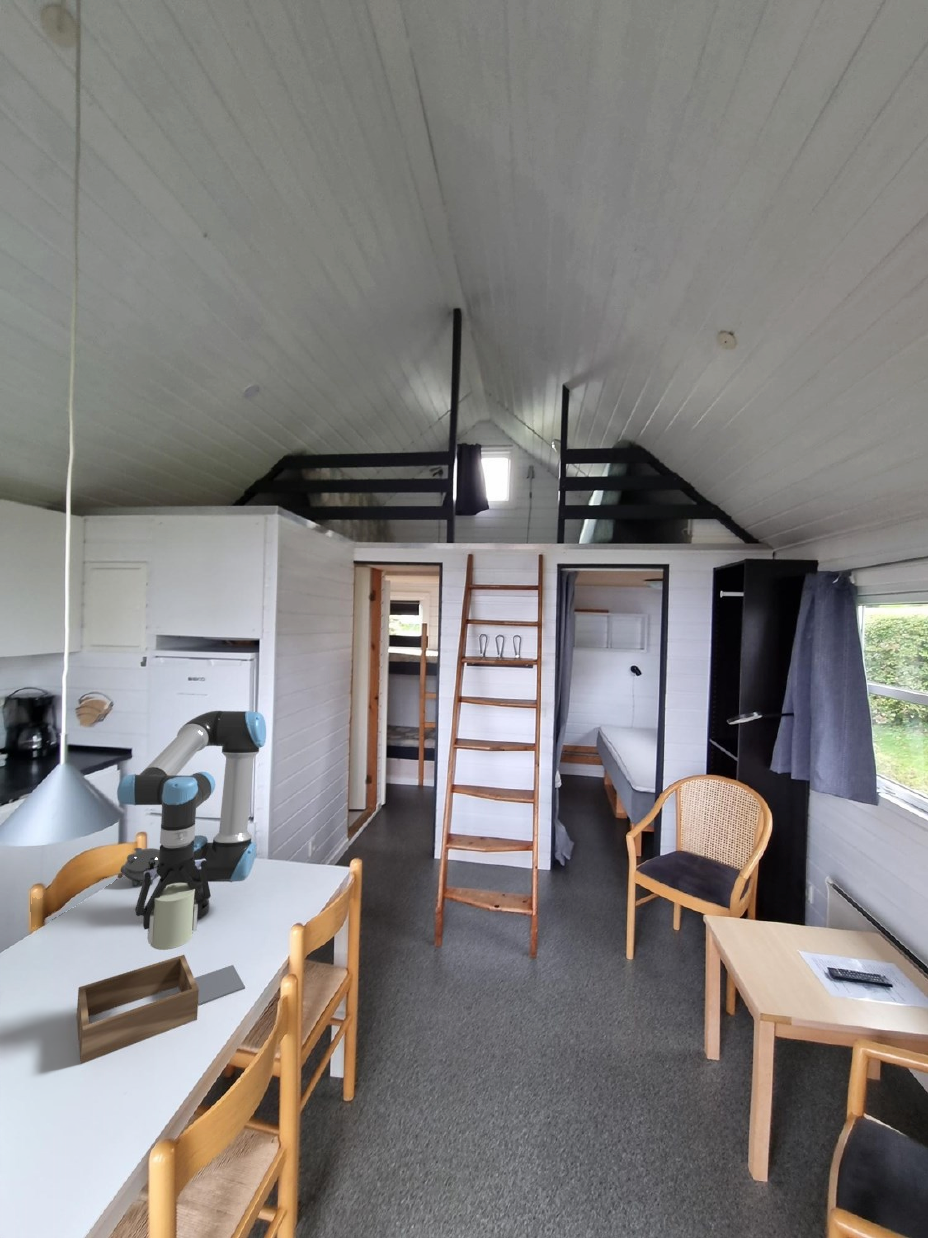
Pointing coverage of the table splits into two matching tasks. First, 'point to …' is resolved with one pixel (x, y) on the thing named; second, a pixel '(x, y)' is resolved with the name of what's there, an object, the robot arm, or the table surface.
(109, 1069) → the table surface
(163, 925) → the can
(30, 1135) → the table surface
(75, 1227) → the table surface
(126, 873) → the piggy bank
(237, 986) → the mat
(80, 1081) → the table surface
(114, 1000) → the crate
